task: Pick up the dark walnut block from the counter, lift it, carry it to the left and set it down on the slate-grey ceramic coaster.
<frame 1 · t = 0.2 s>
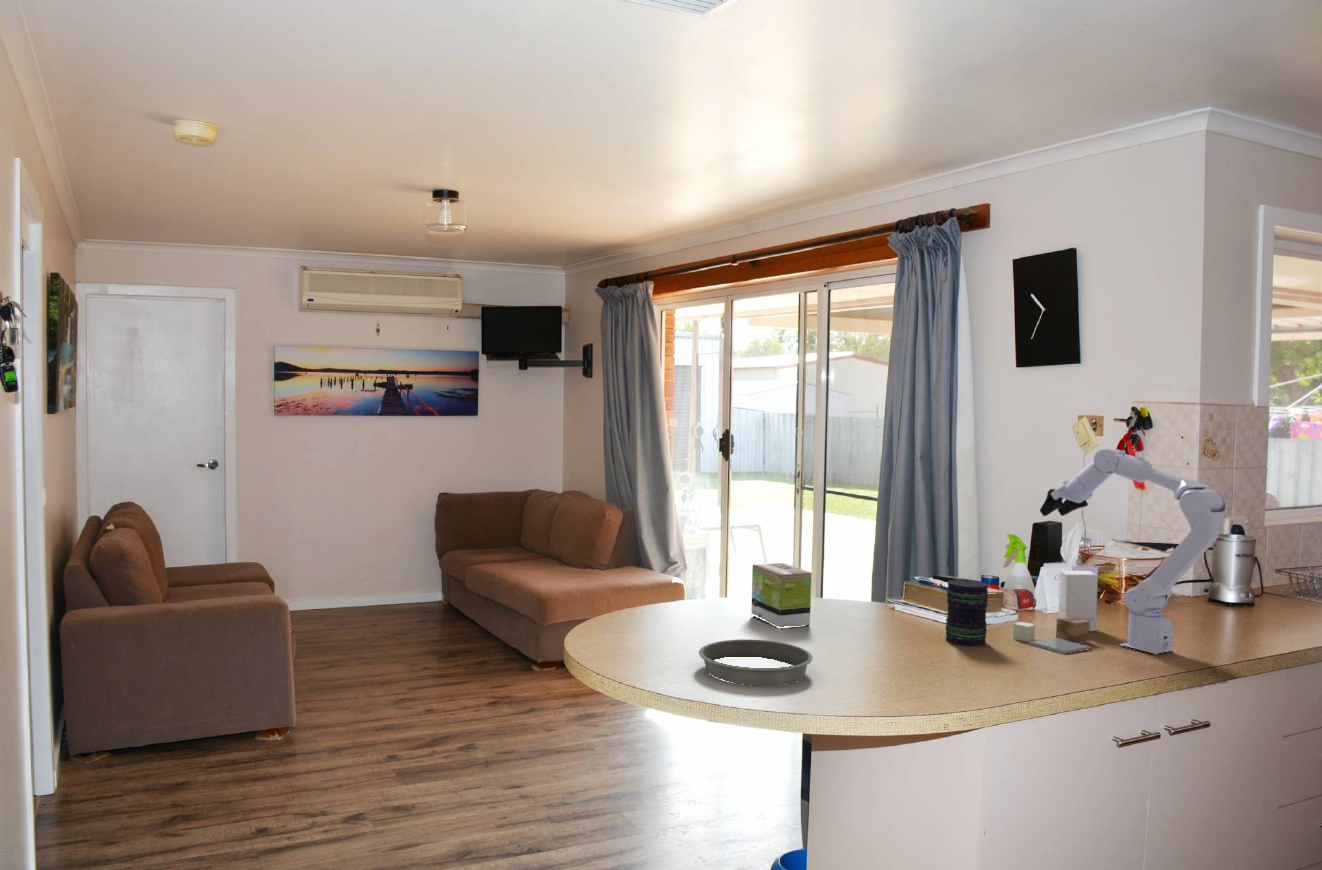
hand: (1051, 513, 259), 31 cm above the kitchen counter, tool tilted 45°, fingers open, 7 cm apart
cake pan: (754, 674, 206), on the kitchen counter
sage block: (1023, 639, 243), on the kitchen counter
tea box: (779, 622, 255), on the kitchen counter
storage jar: (965, 642, 239), on the kitchen counter
walnut block: (1072, 641, 243), on the kitchen counter
skincare box: (1076, 629, 257), on the kitchen counter
coaster: (1059, 647, 236), on the kitchen counter
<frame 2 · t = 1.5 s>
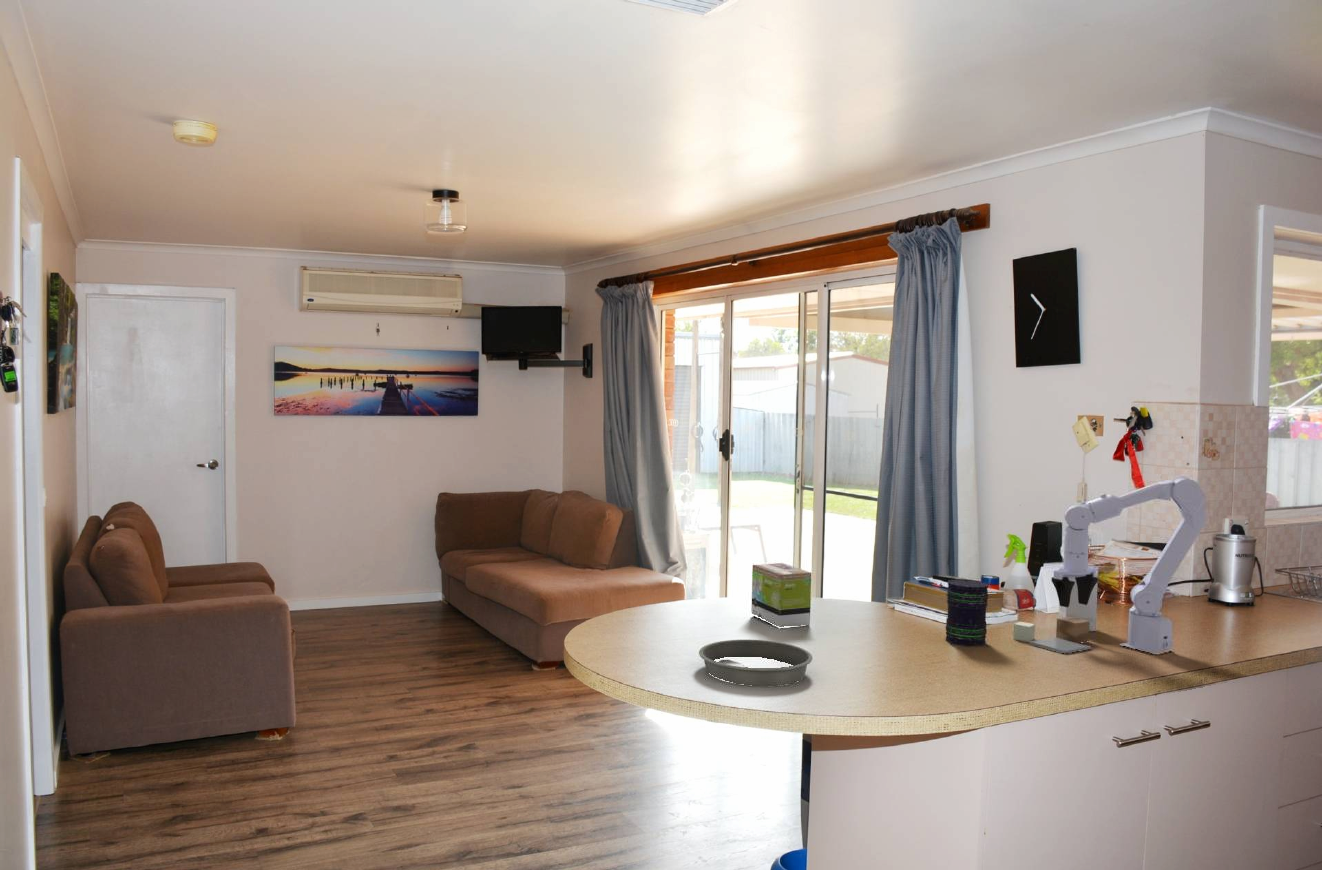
hand: (1073, 605, 243), 9 cm above the kitchen counter, tool pointing down, fingers open, 7 cm apart
nothing on the kitchen counter moved.
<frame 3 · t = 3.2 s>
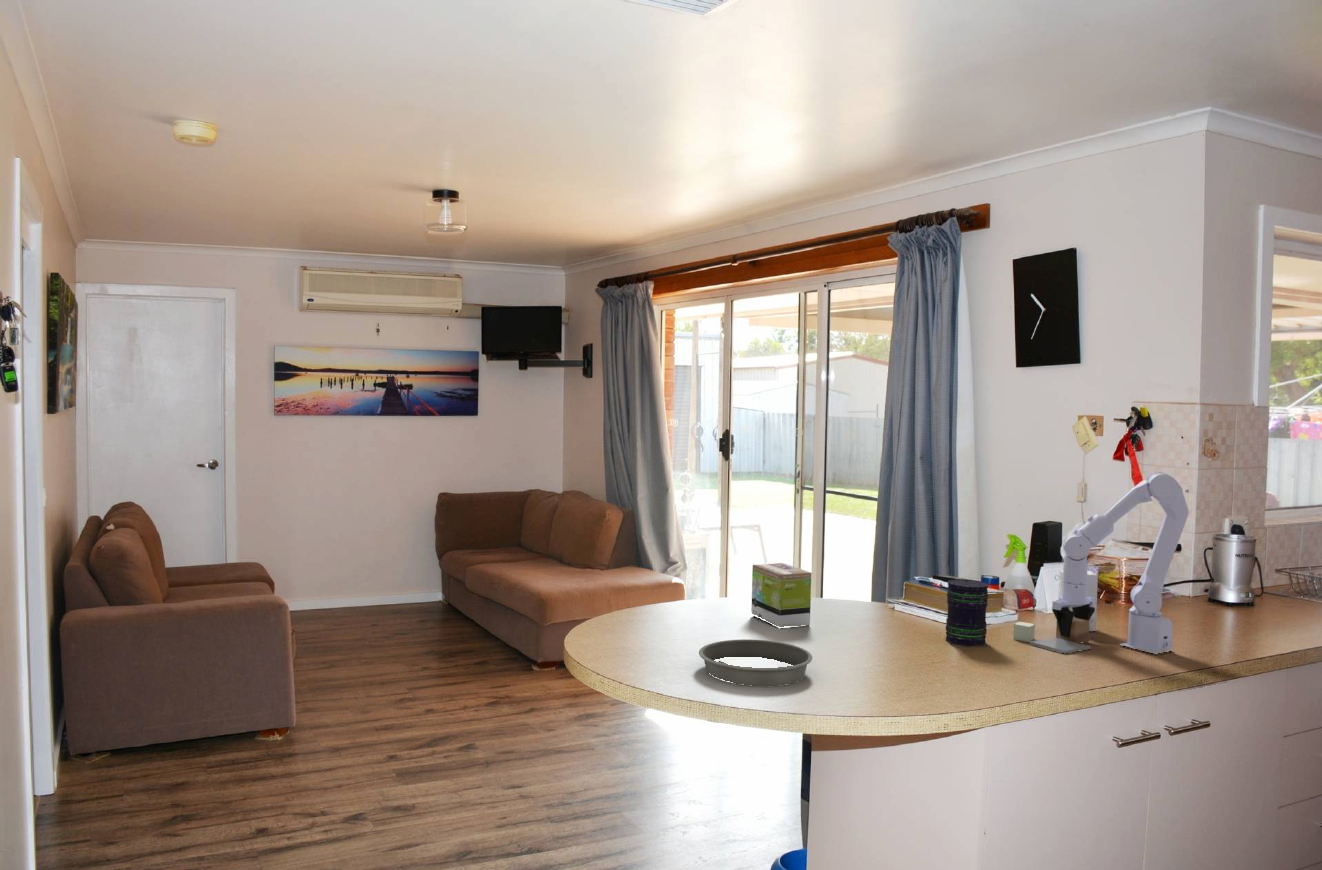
hand: (1072, 635, 243), 1 cm above the kitchen counter, tool pointing down, fingers closed on walnut block, 5 cm apart
walnut block: (1072, 640, 243), on the kitchen counter, touching gripper
everything else where it was.
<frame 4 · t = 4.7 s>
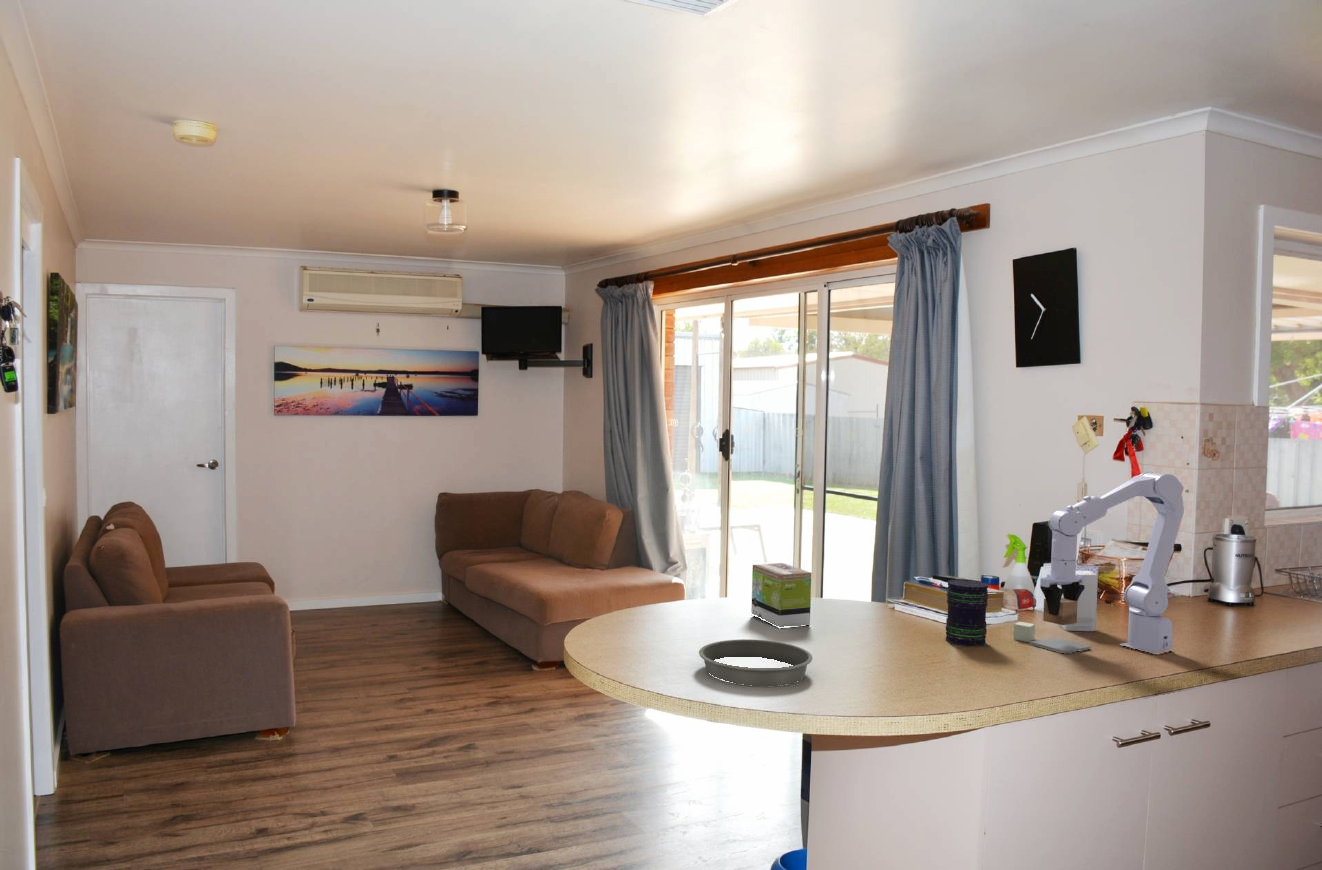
hand: (1061, 613, 236), 8 cm above the kitchen counter, tool pointing down, fingers closed on walnut block, 5 cm apart
walnut block: (1059, 622, 236), point 6 cm above the kitchen counter, touching gripper
everything else where it was.
when the fingers open (3 cm above the kitchen counter, at t = 6.7 s): walnut block stays where it is, resting on coaster.
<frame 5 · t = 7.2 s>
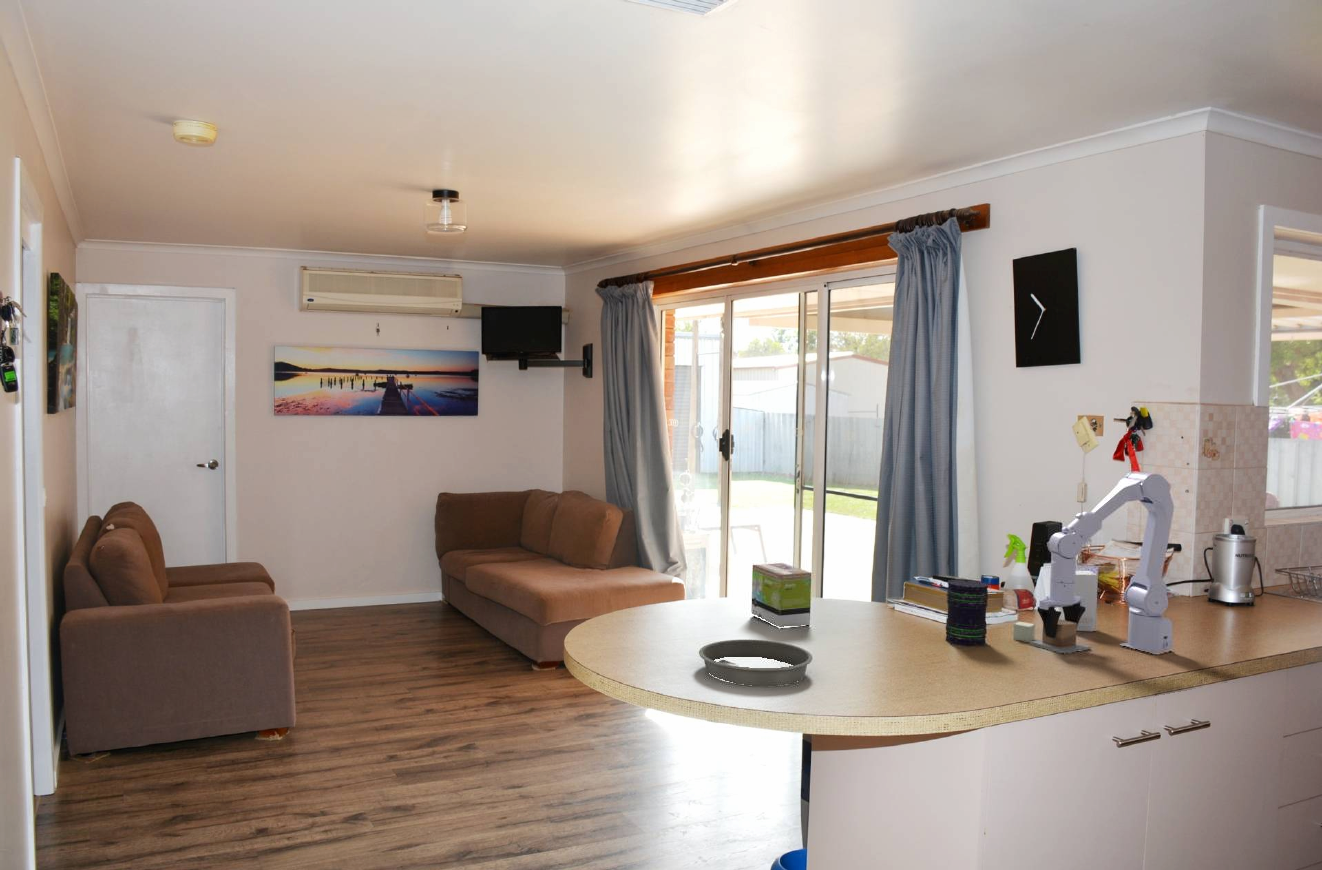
hand: (1060, 635, 236), 3 cm above the kitchen counter, tool pointing down, fingers open, 7 cm apart
walnut block: (1058, 643, 236), point 1 cm above the kitchen counter, touching coaster
everything else where it was.
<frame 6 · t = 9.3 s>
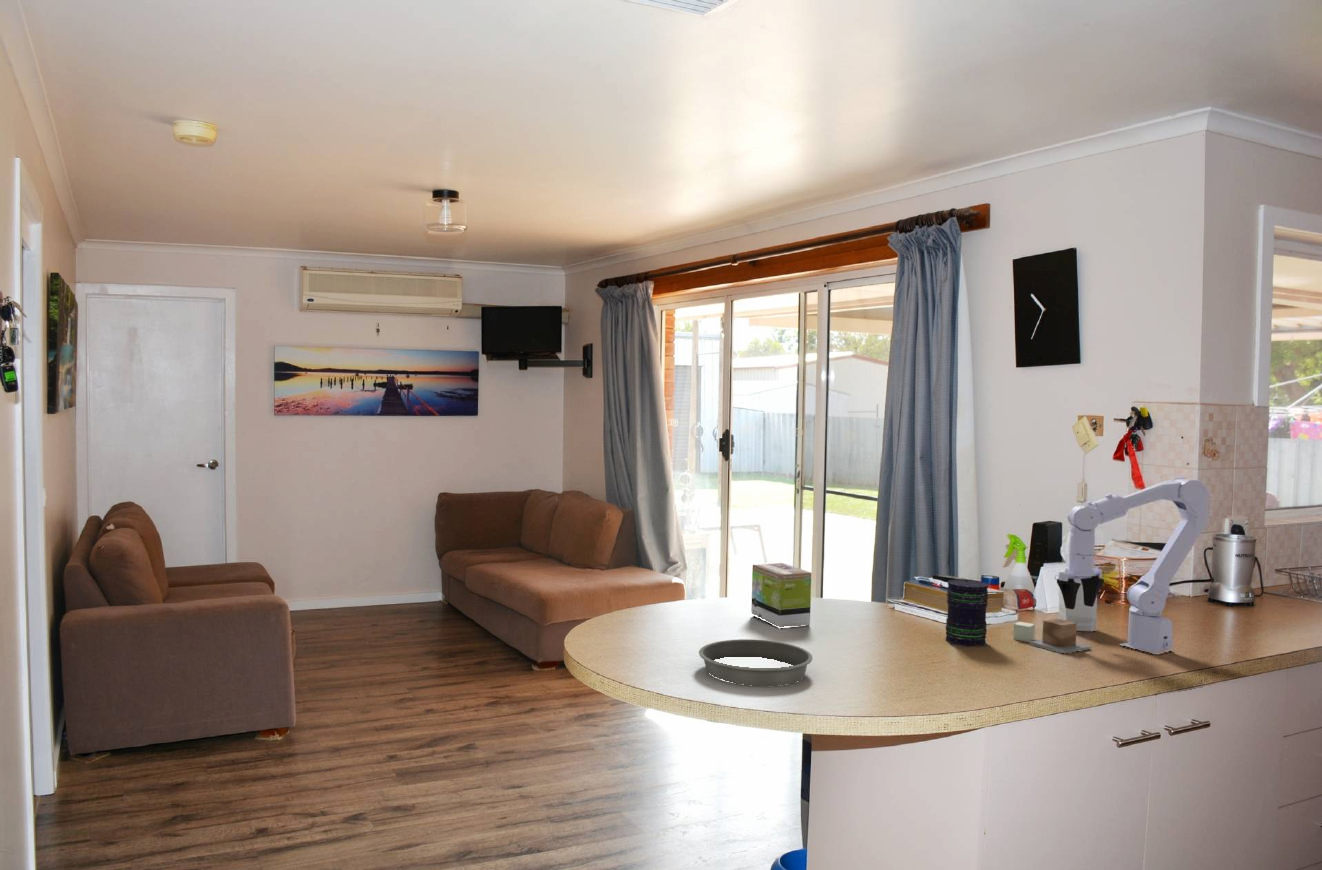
hand: (1079, 607, 239), 9 cm above the kitchen counter, tool pointing down, fingers open, 7 cm apart
nothing on the kitchen counter moved.
at the end: walnut block inside the target area on the coaster (0.3 cm from its centre), point 0.8 cm above the coaster's base; walnut block tilted 0°; the gripper is holding nothing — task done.
